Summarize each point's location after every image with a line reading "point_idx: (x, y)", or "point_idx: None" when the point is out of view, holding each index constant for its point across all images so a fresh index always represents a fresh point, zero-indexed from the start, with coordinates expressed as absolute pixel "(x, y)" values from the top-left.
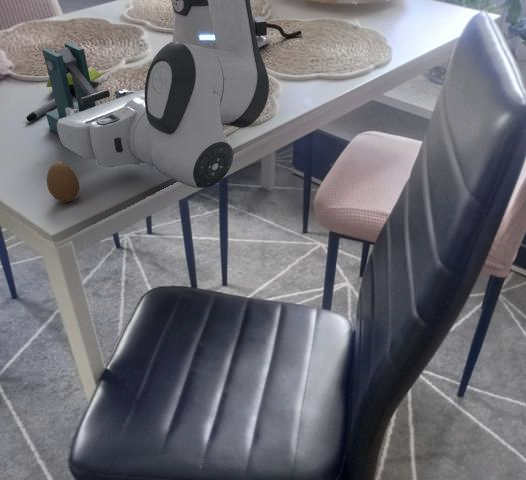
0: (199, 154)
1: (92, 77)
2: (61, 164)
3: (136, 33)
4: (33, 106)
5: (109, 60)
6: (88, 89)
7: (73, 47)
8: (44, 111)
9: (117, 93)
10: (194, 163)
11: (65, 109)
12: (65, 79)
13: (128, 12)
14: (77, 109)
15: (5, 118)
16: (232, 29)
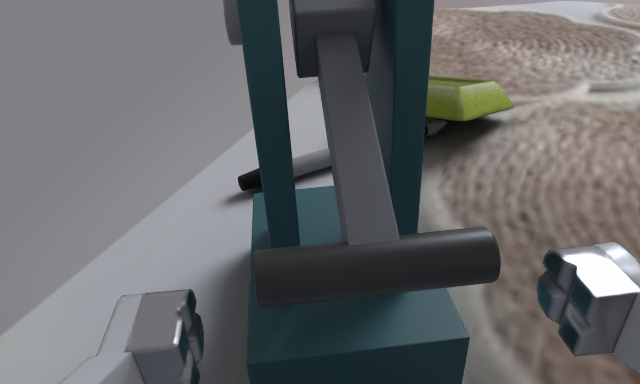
0: None
1: (484, 108)
2: None
3: (624, 40)
4: (302, 146)
5: (548, 78)
6: (352, 201)
7: None
8: (301, 171)
9: (562, 272)
10: None
11: (125, 300)
12: (272, 103)
13: (611, 11)
14: (167, 351)
15: (214, 161)
16: None
